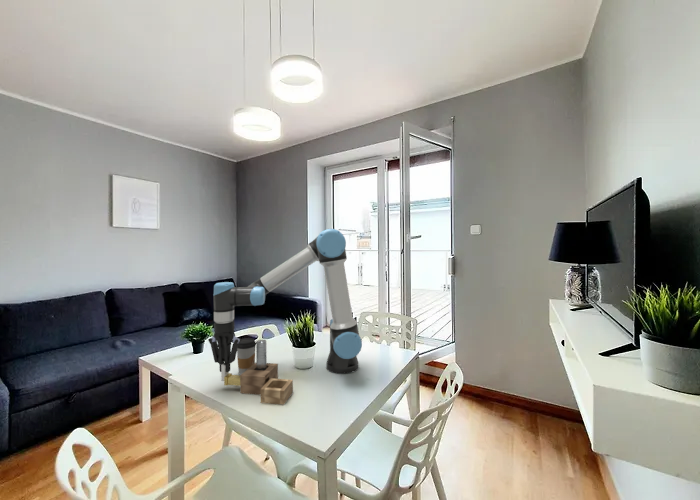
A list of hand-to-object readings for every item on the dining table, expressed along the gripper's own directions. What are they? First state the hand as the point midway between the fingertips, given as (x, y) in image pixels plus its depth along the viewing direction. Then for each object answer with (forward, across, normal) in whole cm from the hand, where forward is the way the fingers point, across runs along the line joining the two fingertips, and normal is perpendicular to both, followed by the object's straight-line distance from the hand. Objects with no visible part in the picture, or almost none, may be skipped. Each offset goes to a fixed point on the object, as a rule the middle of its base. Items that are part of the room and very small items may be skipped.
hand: (225, 379), depth 118 cm
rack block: (+4, -24, +4) cm, 24 cm away
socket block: (+4, -13, -4) cm, 14 cm away
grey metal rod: (+4, -13, -6) cm, 15 cm away
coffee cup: (+4, -2, -14) cm, 15 cm away
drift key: (+1, -7, 0) cm, 7 cm away
